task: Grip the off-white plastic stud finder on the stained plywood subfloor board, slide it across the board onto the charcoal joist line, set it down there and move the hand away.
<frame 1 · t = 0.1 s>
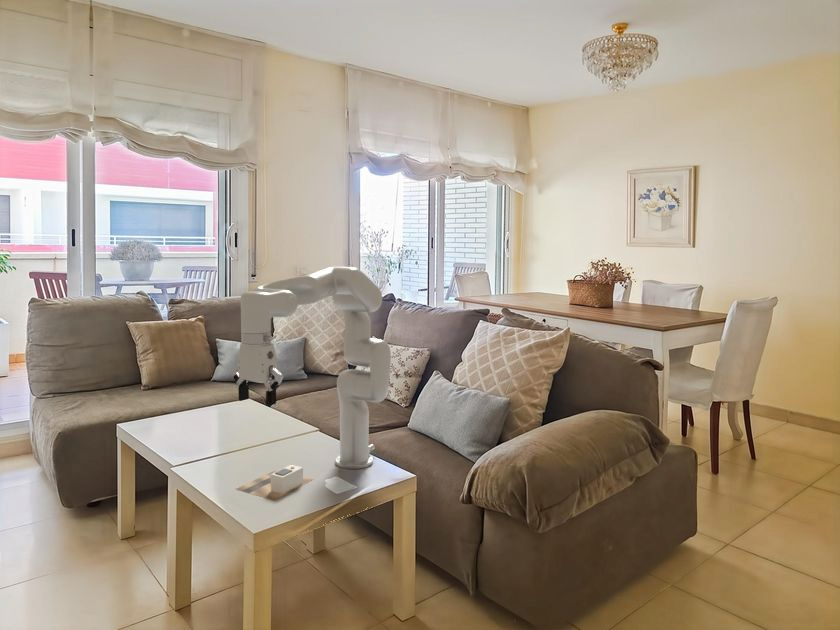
hand: (257, 402, 163), 31 cm above the table, fingers open, 9 cm apart
stud finder: (287, 487, 183), point 1 cm above the table, touching subfloor board
subfloor board: (275, 487, 185), on the table
hard drive: (336, 489, 186), on the table
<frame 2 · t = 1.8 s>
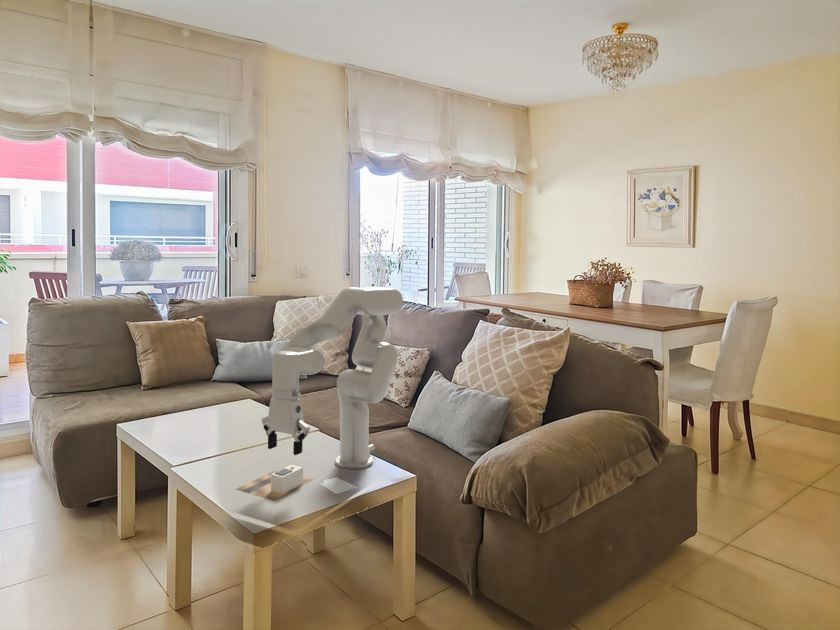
hand: (284, 450, 181), 12 cm above the table, fingers open, 9 cm apart
nothing on the table moved.
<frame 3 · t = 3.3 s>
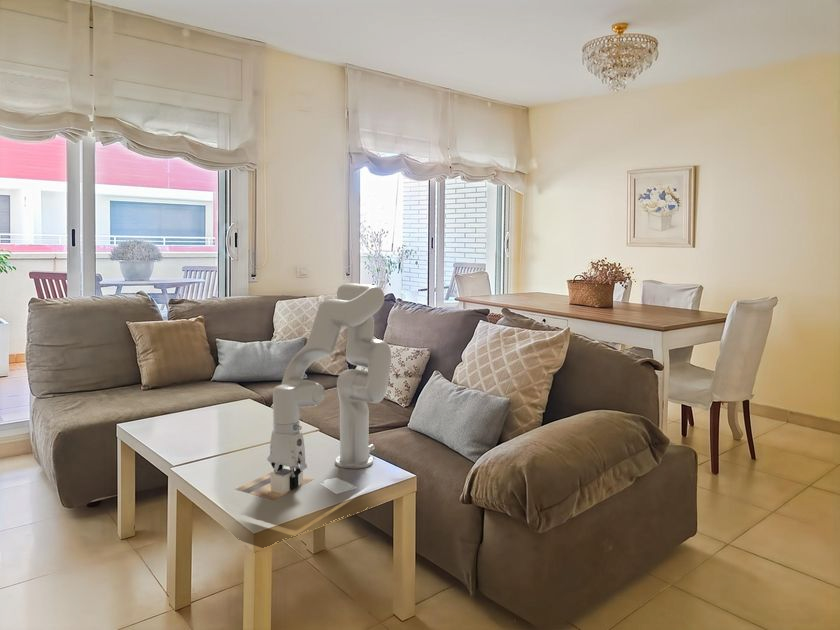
hand: (287, 485, 183), 1 cm above the table, fingers closed on stud finder, 4 cm apart
stud finder: (287, 487, 183), point 1 cm above the table, touching gripper, subfloor board
everything else where it was.
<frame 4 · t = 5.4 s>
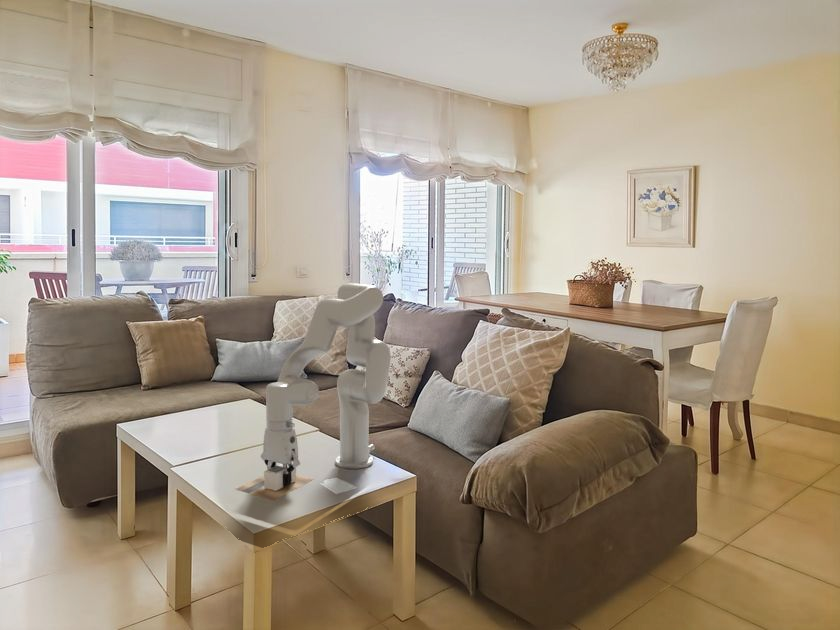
hand: (280, 482, 184), 2 cm above the table, fingers closed on stud finder, 4 cm apart
stud finder: (280, 483, 184), point 1 cm above the table, touching gripper
everything else where it was.
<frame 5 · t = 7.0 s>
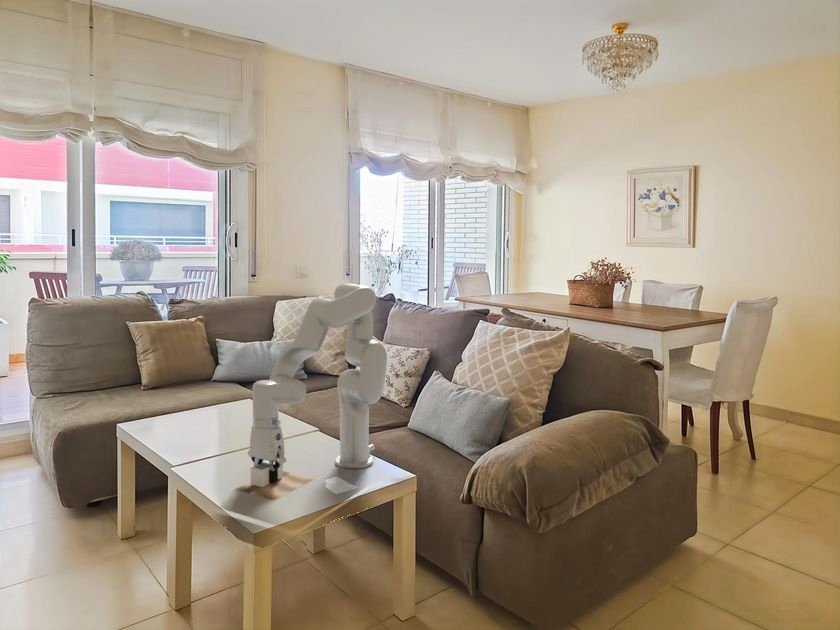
hand: (266, 479, 187), 2 cm above the table, fingers closed on stud finder, 4 cm apart
stud finder: (267, 480, 187), point 1 cm above the table, touching gripper
everything else where it was.
when the fingers open (1 cm above the table, at t = 7.5 s): stud finder stays where it is, resting on subfloor board.
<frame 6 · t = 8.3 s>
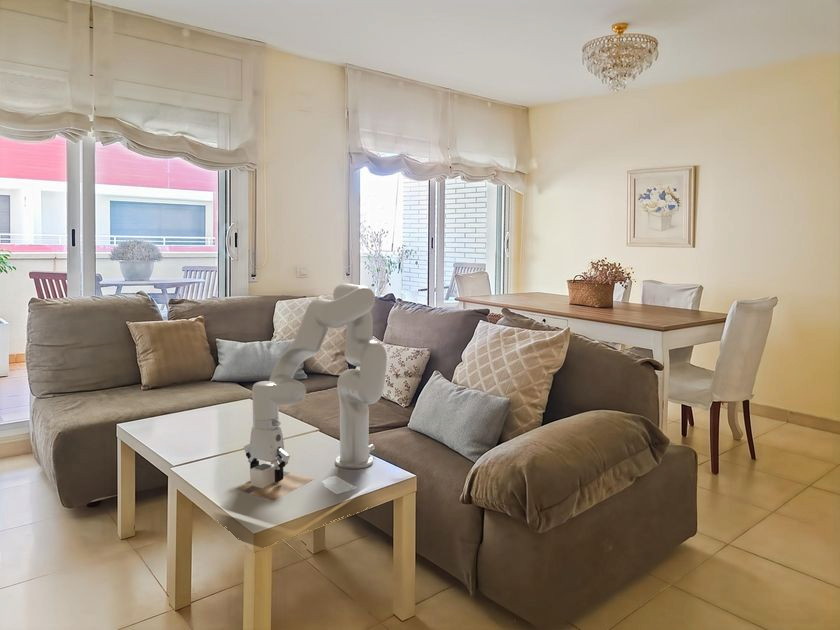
hand: (266, 477, 187), 2 cm above the table, fingers open, 9 cm apart
stud finder: (266, 481, 187), point 1 cm above the table, touching subfloor board
everything else where it was.
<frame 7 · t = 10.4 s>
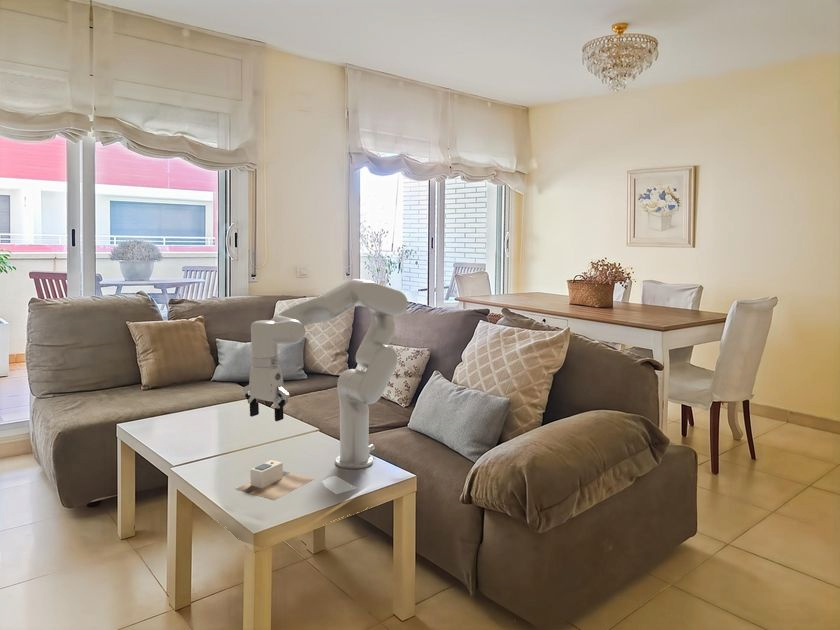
hand: (266, 417, 185), 21 cm above the table, fingers open, 9 cm apart
nothing on the table moved.
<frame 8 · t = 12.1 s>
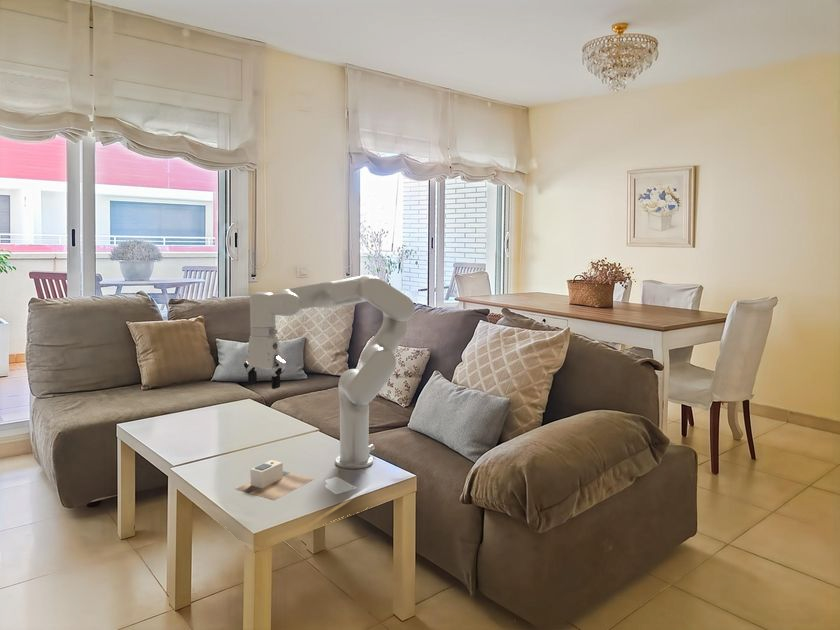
hand: (264, 386, 193), 28 cm above the table, fingers open, 9 cm apart
nothing on the table moved.
at the end: stud finder 0.0 cm from the target spot, point 1.0 cm above the table; stud finder tilted 0°; the gripper is holding nothing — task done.
